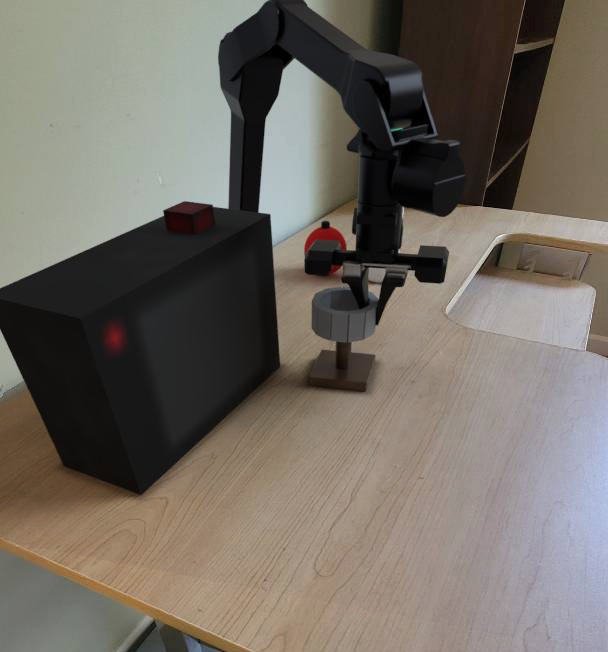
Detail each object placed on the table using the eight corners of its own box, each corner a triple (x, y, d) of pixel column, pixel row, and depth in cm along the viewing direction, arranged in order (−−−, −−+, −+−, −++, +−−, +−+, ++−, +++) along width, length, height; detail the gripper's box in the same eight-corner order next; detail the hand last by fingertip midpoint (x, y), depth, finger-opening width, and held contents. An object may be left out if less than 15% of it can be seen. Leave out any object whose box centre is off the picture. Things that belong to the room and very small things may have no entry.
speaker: (51, 461, 69) (-42, 269, 51) (203, 348, 90) (174, 184, 72) (141, 495, 64) (72, 294, 46) (280, 366, 84) (269, 194, 67)
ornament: (322, 263, 116) (322, 212, 109) (354, 272, 112) (356, 219, 104) (296, 275, 111) (294, 222, 104) (328, 285, 107) (328, 231, 100)
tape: (306, 338, 74) (306, 311, 71) (318, 310, 81) (319, 284, 78) (371, 345, 73) (374, 317, 70) (378, 316, 79) (381, 289, 76)
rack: (308, 385, 80) (307, 332, 74) (321, 357, 86) (321, 306, 80) (365, 391, 78) (369, 337, 72) (375, 363, 84) (379, 310, 78)
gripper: (460, 185, 68) (440, 306, 79) (321, 180, 71) (321, 296, 82) (456, 210, 60) (434, 339, 72) (301, 203, 64) (304, 327, 75)
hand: (371, 323), depth 75 cm, fingers closed on tape
